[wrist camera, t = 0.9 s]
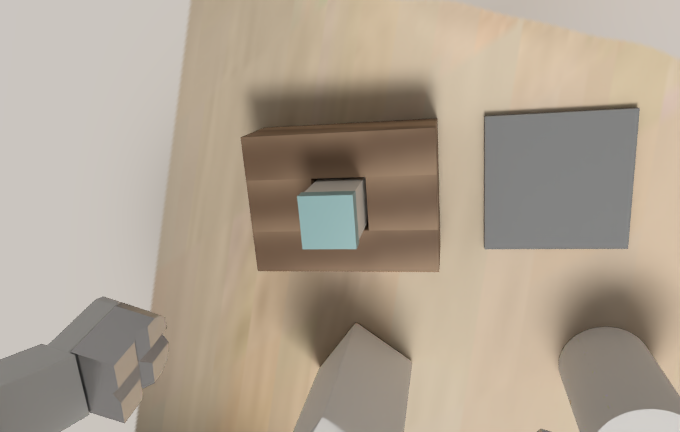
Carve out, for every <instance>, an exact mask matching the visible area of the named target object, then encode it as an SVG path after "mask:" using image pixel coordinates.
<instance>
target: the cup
mask: <svg viewBox="0 0 680 432" xmlns="http://www.w3.org/2000/svg"><path fill="white" fill-rule="evenodd" d="M559 372H560V376H561V379H562V381H563V384H564V387H565V390H566V393H567V396H568V399H569V402H570V405H571V408H572V411H573V413H574V416H575V419H576V422H577V425H578V428H579V431H580V432H680V396H679V395H678V393H677V392H676V390H675V389H674V387H673V386H672V384H671V383H670V381H669V380H668V378H667V377H666V375H665V374H664V372H663V371H662V369H661V368H660V366H659V365H658V363H657V362H656V360H655V359H654V357H653V356H652V354H651V353H650V351H649V350H648V348H647V347H646V345H645V344H644V343H643V342H642V341H641V340H640V339H639V338H638V337H637V336H635V335H634V334H632V333H630V332H628V331H626V330H623V329H620V328H615V327H597V328H592V329H588V330H585V331H583V332H581V333H579V334H577V335H576V336H574V337H573V338H572V339H571V340H570V341H569V342H568V343H567V344H566V345H565V346H564V348H563V350H562V352H561V354H560V358H559Z"/></svg>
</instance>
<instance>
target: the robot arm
mask: <svg viewBox="0 0 680 432" xmlns="http://www.w3.org/2000/svg"><path fill="white" fill-rule="evenodd" d="M166 329H167V325H166V319H165V317H164V316H161V315H158V314H155V313H152V312H149V311H146V310H143V309H140V308H137V307H134V306H131V305H128V304H125V303H122V302H118V301H115V300H112V299H109V298H106V297H101V298H99V299H96V300H95V301H94V302H93V303H92V304H90V306H88V307H87V308H86V309H85V310H84V311H83V312H82V313H81V314H80V315H79V316H78V317H77V318H76V319H75V320H74V321H73V322H72V323H71V324H70V325H68V327H66V328H65V329H64V330H63V331H62V332H61V333H60V334H59V335H58V336H57V337H56V338H55V339H54V340H53V341H52V342H51V343H50V344H49V345H48V346H47V345H43V344H40V345H37V346H35V347H32V348H30V349H27V350H24V351H22V352H19V353H16V354H14V355H11V356H9V357H6V358H3V359H1V360H0V432H61V431H62V430H64V429H66V428H67V427H69V426H71V425H72V424H74V423H76V422H77V421H79V420H81V419H83V418H84V417H86V416H88V415H89V412H90V413H94V414H97V415H100V416H103V417H107V418H110V419H113V420H116V421H119V422H123V423H125V422H126V421H127V419H128V418H129V417H130V415H131V414H132V413H133V411H134V410H135V409H136V407H137V406H138V405H139V403H140V402H141V401H142V399H143V388H145V387H147V386H149V385H151V384H153V383H155V382H156V380H157V379H158V377H159V376H160V375H161V373H162V372H163V369H164V367H165V365H166V362H167V360H168V354H169V343H168V341H167V340H166V338H165V337H164V336H163V332H164V331H165V330H166ZM537 432H550V431H547V430H543V429H540V430H538V431H537Z"/></svg>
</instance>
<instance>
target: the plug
mask: <svg viewBox="0 0 680 432" xmlns="http://www.w3.org/2000/svg"><path fill="white" fill-rule="evenodd" d="M297 201H298V210H299V220H300V230H301V240H302V249H357V247H358V245H359V239H360V237H361V235H362V233H363V231H364V229H365V226H366V224H367V222H368V208H367V193H366V177H348V178H318V179H317V180H316V181H315V182H314V183H313V184H312V185H311V186H310V187H309V188H308V189H307V190H306V191H305V192H301V193H300V194H299V195H298V196H297Z"/></svg>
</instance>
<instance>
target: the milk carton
mask: <svg viewBox="0 0 680 432" xmlns="http://www.w3.org/2000/svg"><path fill="white" fill-rule="evenodd" d="M411 368H412V362H411V361H410V360H409V359H408V358H406V357H405V356H403V355H402V354H401V353H399V352H398V351H396V350H395V349H393V348H392V347H391V346H389V345H388V344H386V343H385V342H383V341H382V340H381V339H379V338H378V337H376V336H375V335H373V334H372V333H371V332H369V331H368V330H366V329H365V328H363V327H362V326H361V325H359V324H357V323H355V324H354V325H353V327H352V328H351V329H350V330H349V332H348V333H347V334H346V335H345V337H344V338H343V339H342V340H341V342H340V343H339V344H338V345H337V347H336V348H335V349H334V350H333V352H332V353H331V354H330V355H329V357H328V358H327V359H326V360H325V362H324V363H323V364H322V366H321V367H320V368H319V370H318V373H317V375H316V377H315V380H314V382H313V385H312V387H311V390H310V392H309V394H308V397H307V399H306V402H305V404H304V407H303V409H302V411H301V414H300V416H299V419H298V421H297V424H296V426H295V428H294V431H293V432H404V427H405V418H406V410H407V402H408V393H409V385H410V377H411Z"/></svg>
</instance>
